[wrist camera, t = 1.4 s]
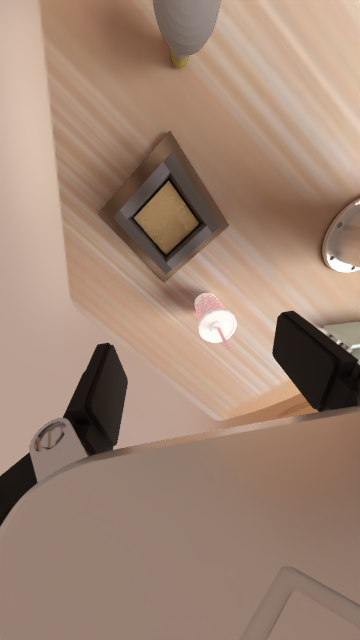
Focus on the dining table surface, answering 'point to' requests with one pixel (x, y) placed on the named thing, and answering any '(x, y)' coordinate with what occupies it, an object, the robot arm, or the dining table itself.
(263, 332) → the dining table surface
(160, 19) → the light bulb
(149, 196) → the socket block
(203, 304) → the beverage cup
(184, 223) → the plate
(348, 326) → the l-shaped corner panel
